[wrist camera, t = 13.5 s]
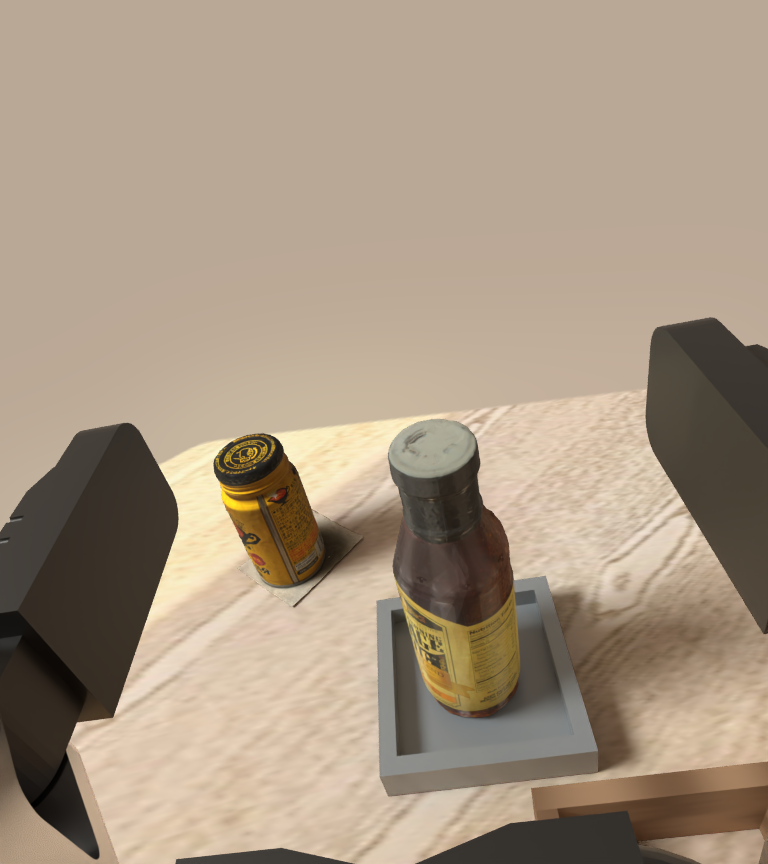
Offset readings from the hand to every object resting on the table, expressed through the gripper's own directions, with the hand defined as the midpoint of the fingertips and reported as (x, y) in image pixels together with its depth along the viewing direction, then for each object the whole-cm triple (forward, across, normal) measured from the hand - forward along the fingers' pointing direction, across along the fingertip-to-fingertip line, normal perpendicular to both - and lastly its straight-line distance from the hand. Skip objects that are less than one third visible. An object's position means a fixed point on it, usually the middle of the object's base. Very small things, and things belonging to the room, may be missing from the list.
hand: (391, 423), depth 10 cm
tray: (+14, 0, +32) cm, 35 cm away
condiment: (+28, +13, +32) cm, 45 cm away
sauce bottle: (+14, 0, +31) cm, 34 cm away
